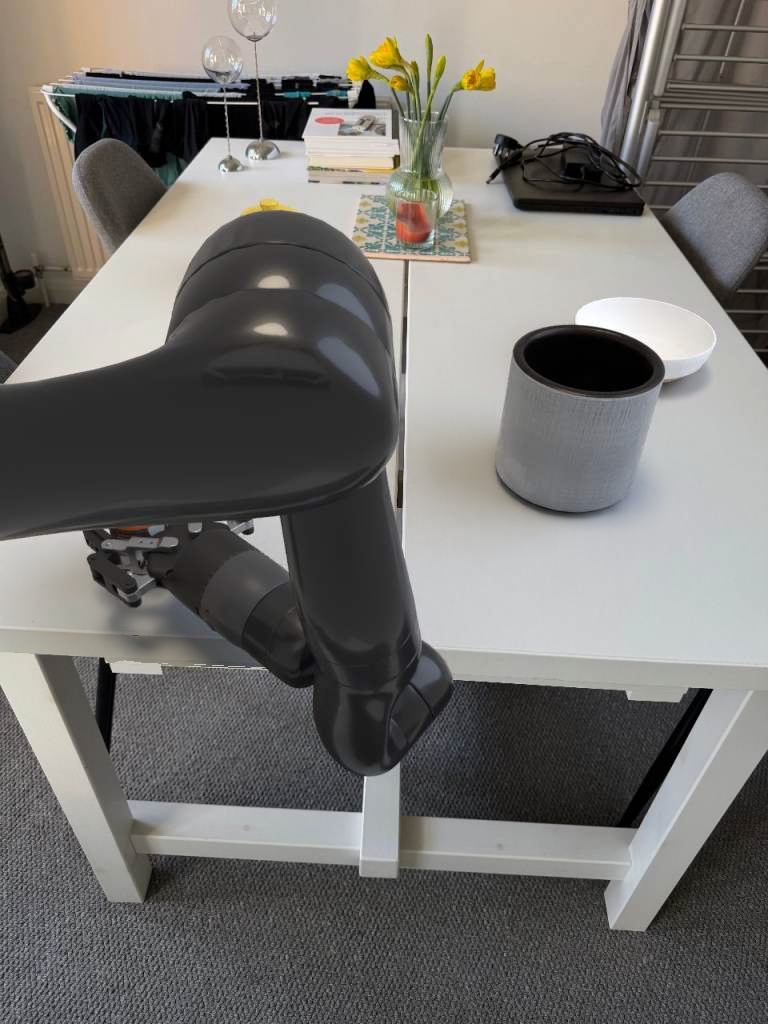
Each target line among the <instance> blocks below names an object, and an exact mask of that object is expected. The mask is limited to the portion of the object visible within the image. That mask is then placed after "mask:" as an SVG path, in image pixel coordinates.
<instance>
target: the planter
mask: <svg viewBox="0 0 768 1024" xmlns="http://www.w3.org/2000/svg"><path fill="white" fill-rule="evenodd" d="M664 377H665V366H664V363H663V361H662V359H661V358H660V357H659V355H658V354H657V353H656V352H655V351H654V350H652V349H651V348H650V347H648V346H647V345H646V344H644V343H642V342H641V341H639V340H637V339H635V338H633V337H631V336H628V335H626V334H623V333H620V332H617V331H613V330H610V329H606V328H601V327H595V326H588V325H574V324H556V325H555V324H554V325H548V326H544V327H540V328H537V329H533V330H531V331H529V332H527V333H525V334H523V335H522V336H521V337H520V338H518V340H517V341H516V342H515V343H514V345H513V348H512V352H511V358H510V365H509V371H508V377H507V382H506V383H507V384H506V390H505V395H504V401H503V408H502V413H501V418H500V424H499V431H498V436H497V437H498V438H497V442H496V449H495V468H496V471H497V474H498V476H499V477H500V479H501V480H502V482H503V483H504V484H505V485H506V486H507V487H508V488H509V489H510V490H511V491H512V492H514V493H515V494H516V495H518V496H519V497H521V498H523V499H525V500H527V501H528V502H529V503H532V504H535V505H537V506H540V507H543V508H546V509H550V510H554V511H560V512H569V513H586V512H593V511H594V512H595V511H598V510H602V509H605V508H608V507H611V506H613V505H615V504H617V503H619V502H620V501H621V500H623V499H624V498H625V497H626V495H627V494H628V493H629V492H630V490H631V488H632V485H634V481H635V478H636V475H637V471H638V468H639V464H640V462H641V457H642V454H643V452H644V451H643V450H644V447H645V443H646V440H647V437H648V434H649V431H650V430H649V429H650V427H651V423H652V419H653V416H654V413H655V409H656V407H657V403H658V400H659V396H660V394H661V391H662V387H663V383H664V382H663V380H664Z"/></svg>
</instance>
